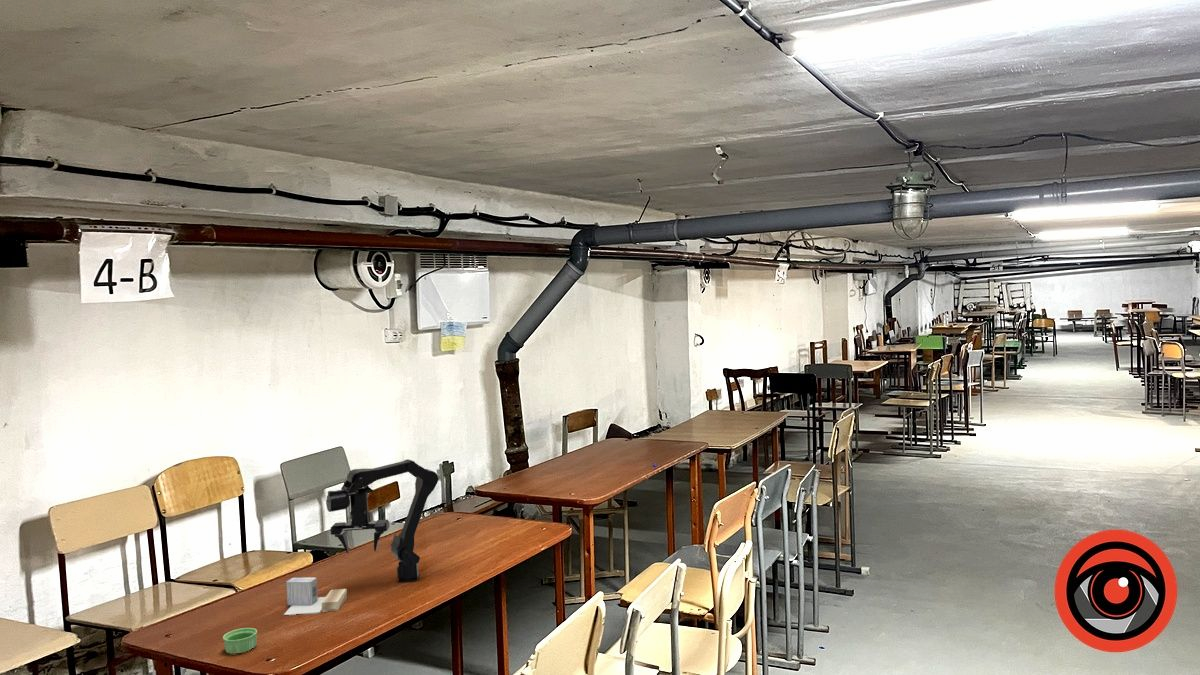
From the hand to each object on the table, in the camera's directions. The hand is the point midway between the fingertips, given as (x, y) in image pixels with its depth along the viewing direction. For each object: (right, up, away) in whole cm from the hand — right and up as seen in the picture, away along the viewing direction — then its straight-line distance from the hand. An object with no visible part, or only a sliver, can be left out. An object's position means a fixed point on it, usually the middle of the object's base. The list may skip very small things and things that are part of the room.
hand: (361, 551), depth 274 cm
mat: (-13, -14, -14) cm, 24 cm away
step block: (-5, -14, -13) cm, 20 cm away
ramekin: (-21, -16, -45) cm, 52 cm away
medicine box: (-12, -10, -12) cm, 19 cm away
